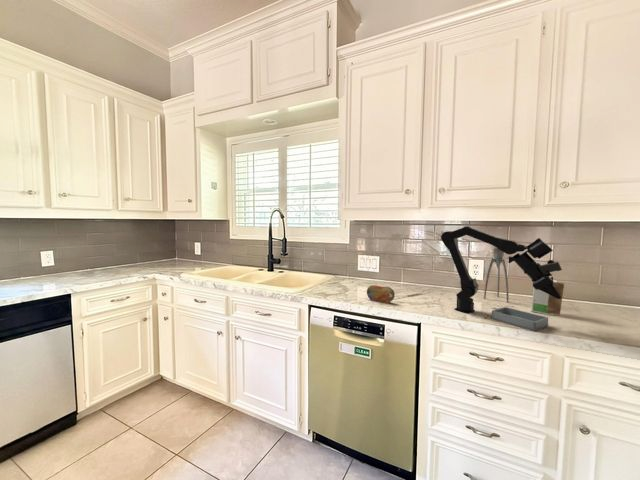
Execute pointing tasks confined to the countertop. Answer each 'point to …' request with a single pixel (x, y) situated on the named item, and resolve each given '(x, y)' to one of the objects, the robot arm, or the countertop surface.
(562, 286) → the brown block
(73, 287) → the countertop surface
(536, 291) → the skincare box
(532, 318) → the tray
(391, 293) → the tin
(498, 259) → the juicer
